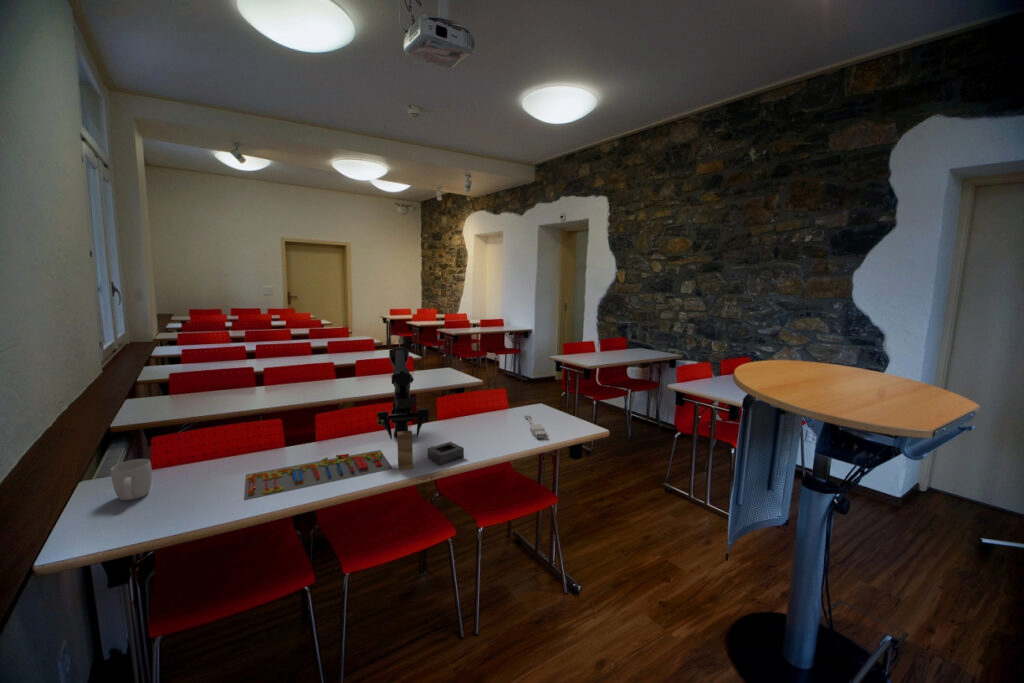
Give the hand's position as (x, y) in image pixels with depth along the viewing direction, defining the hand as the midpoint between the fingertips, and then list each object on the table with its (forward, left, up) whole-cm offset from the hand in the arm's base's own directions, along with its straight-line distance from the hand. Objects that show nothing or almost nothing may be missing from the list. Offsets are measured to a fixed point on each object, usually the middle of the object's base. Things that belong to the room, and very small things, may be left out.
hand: (404, 437), depth 153 cm
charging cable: (-26, +59, -11) cm, 65 cm away
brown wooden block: (+3, 0, -10) cm, 11 cm away
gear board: (-1, -28, -11) cm, 30 cm away
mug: (+4, -80, -10) cm, 81 cm away
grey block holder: (-1, +15, -10) cm, 18 cm away
